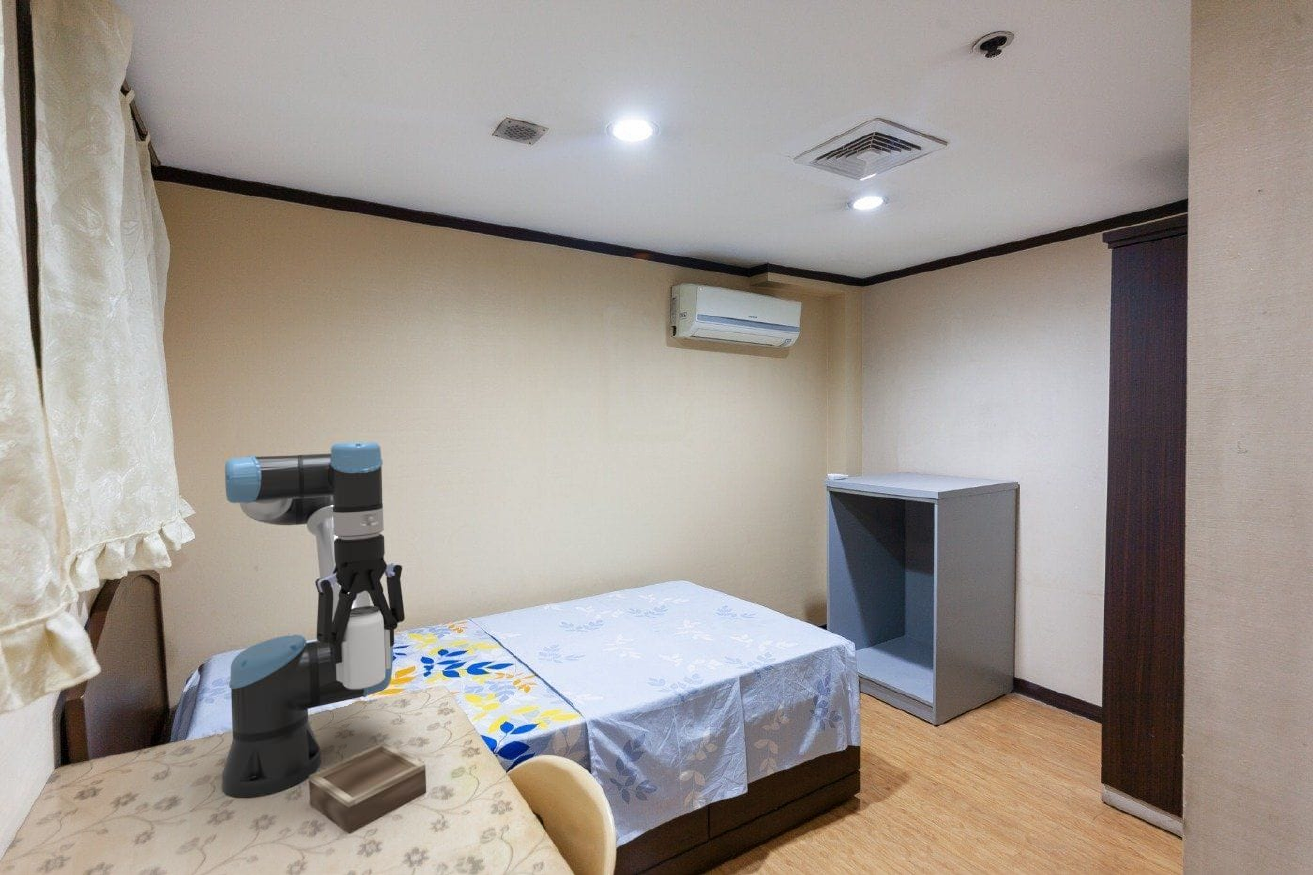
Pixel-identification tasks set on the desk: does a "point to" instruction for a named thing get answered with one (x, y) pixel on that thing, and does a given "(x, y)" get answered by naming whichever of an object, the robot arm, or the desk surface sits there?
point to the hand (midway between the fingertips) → (364, 673)
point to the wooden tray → (367, 786)
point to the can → (365, 647)
